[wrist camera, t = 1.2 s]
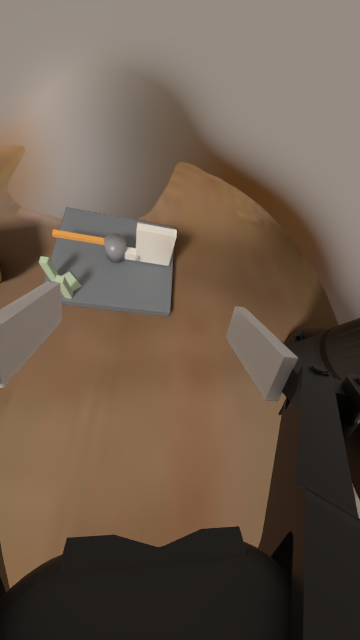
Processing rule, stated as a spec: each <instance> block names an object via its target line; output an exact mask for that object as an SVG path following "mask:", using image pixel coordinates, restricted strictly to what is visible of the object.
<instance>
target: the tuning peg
mask: <svg viewBox="0 0 360 640" xmlns="http://www.w3.org/2000/svg"><path fill="white" fill-rule="evenodd" d="M52 235H53V237H58V238H64V239H70V240H76V241H83V242H89V243H95V244H101V245H105V250H106V256H107V258H108V259H109V260H110V261H111V262H114V263H119V262H122V261H124V260H125V259H127V260H133V261H140V262H146V263H153V264H159V265H166V266H169V262H170V259H171V255H172V251H173V248H174V244H175V241H176V237H177V230H175V229H169V228H164V227H159V226H153V225H148V224H142V223H137V231H136V248H131V247H126V240H125V238H124V237H123V236H122V235H120V234H117V233H111V234H108V235H107V236H106V237H105V238H102V237H96V236H90V235H84V234H78V233H72V232H66V231H60V230H54V229H53V232H52Z"/></svg>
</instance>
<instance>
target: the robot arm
mask: <svg viewBox="0 0 360 640" xmlns="http://www.w3.org/2000/svg"><path fill="white" fill-rule="evenodd" d="M61 322H62V309H61V287H60V283H57V282H49V281H47V282H45V283H44V284H42V285H40V286H39V287H37V288H35V289H34V290H32V291H30V292H29V293H27V294H25V295H24V296H22V297H20V298H19V299H17V300H15V301H14V302H12V303H10V304H9V305H7V306H5V307H4V308H2V309H0V388H4V387H5V386H6V384H7V383H8V382H9V381H10V380H11V379H12V378H13V376H14V375H15V374H16V373H17V372H18V371H19V370H20V368H21V367H22V366H23V365H24V364H25V363H26V362H27V360H28V359H29V358H30V357H31V356H32V355H33V354H34V353H35V351H36V350H37V349H38V348H39V347H40V346H41V345H42V343H43V342H44V341H45V340H46V339H47V338H48V337H49V335H50V334H51V333H52V332H53V331H54V330H55V329H56V327H57V326H58V325H59V324H60V323H61ZM226 339H227V341H228V342H229V344H230V345H231V347H232V349H233V350H234V352H235V353H236V355H237V357H238V358H239V360H240V361H241V363H242V365H243V366H244V368H245V369H246V371H247V373H248V374H249V376H250V377H251V379H252V381H253V382H254V384H255V385H256V387H257V389H258V390H259V392H260V393H261V395H262V397H263V398H264V400H265V401H278V400H279V398H280V396H281V394H282V392H283V393H284V395H285V396H286V397H287V398H286V400H285V402H284V404H283V406H282V408H281V410H280V412H279V415H281V414H282V417H281V423H280V429H279V435H278V441H277V448H276V454H275V460H274V466H273V472H272V478H271V484H270V490H269V497H268V503H267V509H266V515H265V521H264V527H263V533H262V537H261V541H260V544H259V547H258V548H256V547H254V546H252V545H250V544H248V543H246V542H243V539H242V535H241V532H240V528H239V527H224V528H209V529H200V530H198V531H196V532H194V533H191V534H189V535H187V536H185V537H183V538H180V539H178V540H176V541H174V542H172V543H169V544H167V545H165V546H162V547H155V546H151V545H148V544H144V543H141V542H137V541H134V540H130V539H127V538H123V537H120V536H116V535H103V536H88V537H73V538H67V540H66V544H65V547H64V551H63V554H62V555H60V556H58V557H55V558H53V559H51V560H49V561H47V562H46V563H44V564H42V565H40V566H39V567H37V568H36V569H34V570H33V571H31V572H30V573H29V574H27V575H26V576H24V577H23V578H22V579H21V580H20V581H19V582H17V583H16V584H15V585H14V586H13V587H11V588H9V584H8V579H7V574H6V570H5V565H4V561H3V556H2V550H1V544H0V640H360V519H359V517H358V513H357V508H356V502H355V497H354V491H353V486H354V488H355V490H356V493H357V495H358V497H359V499H360V423H359V424H358V421H359V420H360V318H359V319H356V320H353V321H350V322H347V323H344V324H342V325H339V326H336V327H333V328H330V329H304V330H301V331H298V332H296V333H294V334H292V335H290V336H289V337H288V338H287V340H286V341H285V343H283V342H282V341H280V340H279V339H278V338H277V337H276V336H274V335H273V334H272V333H271V332H270V331H269V330H268V329H267V328H266V327H265V326H264V325H263V324H262V323H261V322H260V321H259V320H258V319H257V318H255V317H254V316H253V315H252V314H251V313H250V312H249V311H248V310H247V309H246V308H245V307H238V306H235V309H234V312H233V316H232V319H231V322H230V326H229V329H228V332H227V336H226ZM352 483H353V486H352Z"/></svg>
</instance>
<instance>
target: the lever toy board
mask: <svg viewBox="0 0 360 640" xmlns="http://www.w3.org/2000/svg"><path fill="white" fill-rule="evenodd" d="M137 223H142V224H148V225H153V226H159V227H164V228H169V229H175V227H170V226H165V225H159V224H154V223H149V222H143V221H138V220H133V219H127V218H122V217H117V216H112V215H106V214H101V213H96V212H90V211H85V210H80V209H74V208H69V207H66V209H65V213H64V216H63V219H62V223H61V226H60V231H66V232H72V233H78V234H84V235H90V236H96V237H102V238H105V237H106V236H107V235H108V234H111V233H117V234H120V235H122V236H123V237H124V238H125V240H126V247H131V248H136V231H137ZM173 252H174V248H173V251H172V255H171V259H170V262H169V266H166V265H159V264H153V263H146V262H140V261H133V260H127V259H125V260H124V261H122V262H119V263H114V262H111V261H110V260H109V259H108V258H107V256H106V250H105V245H101V244H95V243H89V242H83V241H76V240H70V239H64V238H58V237H57V240H56V243H55V246H54V250H53V253H52V256H51V260H50V259H49V257H42V256H41V257H40V260H39V264H40V265H41V267H42V268H43V270H44V271H45V273H46V277H45V280H44V283H45V282H47V281H49V282H57V283H60V287H61V305H68V306H77V307H86V308H95V309H104V310H113V311H122V312H131V313H141V314H150V315H159V316H168V317H169V314H170V305H171V287H172V270H173ZM44 283H43V284H44Z"/></svg>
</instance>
